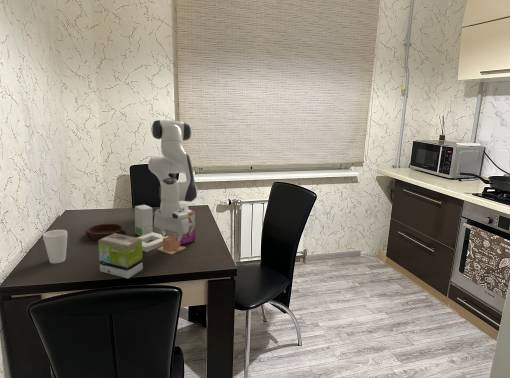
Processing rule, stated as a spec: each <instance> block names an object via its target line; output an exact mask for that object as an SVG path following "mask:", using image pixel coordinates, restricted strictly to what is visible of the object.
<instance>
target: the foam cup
mask: <svg viewBox="0 0 510 378" xmlns="http://www.w3.org/2000/svg"><path fill="white" fill-rule="evenodd" d="M42 238H43V239H42V240H43V241H44V246H45V250H46V253H47V256H48V260H49V263H50V264H60V263H63V262H65V261H66V260H65V259H66V258H67V245H68V231H67V229H66V230H65V229H53V230H49V231H46V232H44V233H43V234H42Z"/></svg>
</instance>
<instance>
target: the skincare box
mask: <svg viewBox="0 0 510 378" xmlns="http://www.w3.org/2000/svg"><path fill="white" fill-rule="evenodd" d="M134 231H135V232H134V233H135V234H137V235H138V236H139V237H140V236H143V235H146V234H149V233H152V232H153V207H151V206H149V205H146V204H141V205H135V206H134Z"/></svg>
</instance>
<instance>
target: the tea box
mask: <svg viewBox="0 0 510 378" xmlns="http://www.w3.org/2000/svg"><path fill="white" fill-rule="evenodd" d="M97 241H98V256H99V257H98V258H99V260H98V261H99V271H100V272H101V273H106V274H109V275H114V276H117V277H121V278H125V279H130V278H131V277H133V276H135V275H136V274H137V273H139V272H141V271H142V270H143V268H144V266H143V251H142V239H141V238H138V237H136V236H131V235H127V234H126V235H121V234H116V233H114V234H111V235H109V236H107V237H105V238H102V239H100V240H97Z"/></svg>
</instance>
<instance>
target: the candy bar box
mask: <svg viewBox="0 0 510 378" xmlns="http://www.w3.org/2000/svg"><path fill="white" fill-rule="evenodd" d="M186 212H187V213H188V217H187V218H188V221H189V231H188V232H187V233H185V234H182V236H181V240H180V246H183V245H186V244H189V243H193V242H195V241H196V215H197V214H196V213H197V212H196V211H193V210H192V209H189V210H188V211H186ZM172 235H175V236H178V234H177V232H173V231H172Z"/></svg>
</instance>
